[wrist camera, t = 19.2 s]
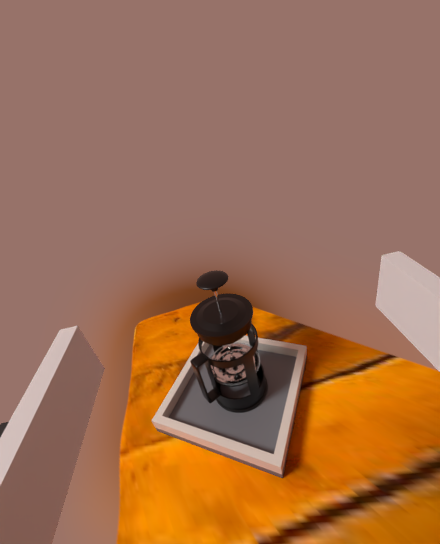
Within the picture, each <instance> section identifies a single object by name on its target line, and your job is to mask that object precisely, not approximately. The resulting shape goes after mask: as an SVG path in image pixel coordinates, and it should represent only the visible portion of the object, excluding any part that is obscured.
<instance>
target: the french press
mask: <svg viewBox="0 0 440 544" xmlns="http://www.w3.org/2000/svg"><path fill="white" fill-rule="evenodd" d="M227 280H228V275H227V274H226V273H225V272H223V271H211V272H207V273H205V274H203V275H202V276H200V277H199V278H198V280H197V286H198V287H199V288H201V289H203V290H212V291H213V292H214V293H215V296H212V297H210V298H208V299H206V300H204V301H202V302H201V303H200V304H199V305H197V306H196V307H195V309H194V310H193V312H192V314H191V317H190V323H191V326H192V328H193V330H194V331H195V332H196V333H197V334H198V336H199V342H198V344H199V349H200V352H201V353H200V354H198V355H197V356H196V357H194V358H193V359H192V360H191V361H190V362H191V365H192V367H193V370H194V373H195V375H196V378H197V380H198V383H199V386H200V388H201V391H202V393H203V396H204V397H205V399H206V400H207V401H208V402H209V403H212V402H214V401H215V400H216V401H217V402H218V404H219V405H220V406H221V407H222V408H224V409H225V410H227V411H230V412H234V413H244V412H248V411H250V410H253V409H255V408H256V407H257V406H259V405H260V404H261V402H262V401H263V400H264V398H265V396H266V393H267V389H268V384H267V379H266V376H265V374H264V369H263V366H262V364H261V363H260V357H259V354H258V349H257V348H258V336H257V331H256V329H255V327H254V326H253V324H251V318H252V315H253V308H252V305H251V303H250V302H249V301H248V300H247V299H246V298H245V297H242V296H240V295H236V294H220V295H217V290H218V288H219V287H221V286H223V285H224V284H225V283H226V282H227ZM254 333H255V334H254ZM246 334H248V339H249V344H250V345H248V344H245V343H238V342H236V341H238V340H240V339H241V338H243V337H244V336H245V335H246ZM255 335H256V339H255ZM203 341H204V342H205V343H208V344H210V345H212V346H213V350H214V353H213V355H212V356H211V358H209V357H207V356H206V355H205V354H204V353H203V352H202V344H203ZM234 342H236V343H234ZM222 345H224V346H222ZM204 363H205V366H206V369H207V372H208V375H209V377H210V380H211V384H212V387H213V389H212V390H211V391H209V392H208V393H207V390H206V387H205V385H204V382H203V379H202V376H201V374H200V371H199V367H200V366H201V365H202V364H204ZM257 377H258V379H259V381H260V385H259V384H258V379H257ZM246 383H248V386H249V390H250V395H248V396H246V397H242V398H228V397H225V396H223V395H222V393H221V385H224V386H229V387H235V386H241V385H244V384H246Z"/></svg>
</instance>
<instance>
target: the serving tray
mask: <svg viewBox="0 0 440 544" xmlns="http://www.w3.org/2000/svg"><path fill="white" fill-rule="evenodd" d="M255 339H256V337H255ZM236 342H238V343H245V344H248V345H250V344H249V339H248V336H244V337H243V338H241V339H240V340H238V341H236ZM236 342H234V343H236ZM222 346H224V345H222ZM257 349H258V354H259V357H260V363H261V364H262V366H263V369H264V374H265V376H266V379H267V384H268V389H267V393H266V396H265V398H264V400H263V401H262V402H261V404H260V405H259V406H257V407H256V408H255V409H253V410H250V411H248V412H244V413H234V412H230V411H227V410H225V409H224V408H222V407H221V406H220V405H219V404H218V402H217V401H216V400H215V401H214V402H212V403H209V402H208V401H207V400H206V399H205V397H204V396H203V393H202V391H201V388H200V386H199V383H198V380H197V378H196V375H195V373H194V370H193V367H192V365H191V362H190V361H191V360H192V359H193V358H194V357H196V356H197V355H198V354H200V353H201V352H200V349H199V344H197V346H196V348H195V349H194V351H193V353H192V354H191V356H190V358H189V359H188V361H187V363H186V364H185V366H184V368H183V369H182V371H181V373H180V374H179V376H178V378H177V379H176V381H175V383H174V384H173V386H172V388H171V389H170V391H169V393H168V394H167V396H166V398H165V399H164V401H163V403H162V404H161V406H160V408H159V409H158V411H157V413H156V414H155V416H154V418H153V419H152V422H153V424H154V426H155V427H156V429H157V431H159V432H162V433H164V434H167V435H170V436H172V437H175V438H178V439H180V440H183V441H186V442H188V443H191V444H193V445H196V446H199V447H201V448H204V449H207V450H209V451H212V452H215V453H217V454H220V455H223V456H225V457H228V458H230V459H233V460H236V461H238V462H241V463H244V464H246V465H249V466H252V467H254V468H257V469H260V470H262V471H265V472H268V473H270V474H273V475H275V476H278V477H281V478H283V474H284V469H285V464H286V459H287V454H288V449H289V444H290V439H291V434H292V429H293V424H294V419H295V414H296V409H297V404H298V399H299V394H300V389H301V384H302V379H303V374H304V369H305V364H306V359H307V347H306V346H304V345H298V344H292V343H286V342H280V341H274V340H268V339H262V338H258V348H257ZM202 352H203V353H204V354H205V355H206V356H207V357H209V358H211V356H212V355H213V353H214V350H213V346H212V345H210V344H208V343H205V342H204V341H203V344H202ZM199 371H200V374H201V376H202V379H203V382H204V385H205V387H206V390H207V393H208V392H209V391H211V390H212V389H213V387H212V384H211V380H210V377H209V375H208V372H207V369H206V366H205V363H204V364H202V365H201V366H200V367H199ZM257 379H258V377H257ZM258 384H259V385H260V381H259V379H258ZM221 393H222V395H223V396H225V397H228V398H242V397H246V396H248V395H250V390H249V386H248V383H246V384H244V385H241V386H235V387H229V386H224V385H221Z"/></svg>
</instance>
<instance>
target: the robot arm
mask: <svg viewBox="0 0 440 544" xmlns="http://www.w3.org/2000/svg"><path fill="white" fill-rule="evenodd" d="M376 307H377V308H378V309H379V310H380V311H381V312H382V313H383V314H384V315H385V316H386V317H387V318H388V319H389V320H390V321H391V322H392V323H393V324H394V325H395V326H396V327H397V328H398V329H399V330H400V332H401V333H402V334H403V335H405V337H406V338H407V339H408V340H409V341H410V342H411V343H412V344H413V345H414V346H415V347H416V348H417V349H418V350H419V351H420V352H421V353H422V354H423V355H424V356H425V357H426V358H427V359H428V360H429V361H430V362H431V363H432V364H433V365H434V367H436V369H437V370H438V371H439V372H440V278H439V277H438V276H436V275H435V274H433V273H432V272H430V271H429V270H427V269H426V268H424V267H423V266H421V265H420V264H418V263H416V262H415V261H414V260H412V259H411V258H409V257H408V256H406V255H405V254H403V253H402V252H400V251H399V252H394V253H389V254H385V255H382V258H381V266H380V274H379V282H378V290H377V298H376ZM104 369H105V368H104V367H103V365H102V364H101V362H100V360H99V359H98V357H97V356H96V354H95V353H94V351H93V349H92V348H91V346H90V345H89V343H88V341H87V340H86V338H85V337H84V335H83V333H82V332H81V330H80V329H79V327H78V326H74V327H70V328H66V329H61V330H60V331H59V332H58V334H57V336H56V338H55V340H54V342H53V343H52V345H51V347H50V349H49V351H48V352H47V354H46V356H45V358H44V360H43V361H42V363H41V365H40V367H39V369H38V370H37V372H36V374H35V376H34V378H33V379H32V381H31V383H30V385H29V387H28V389H27V390H26V392H25V394H24V396H23V398H22V399H21V401H20V403H19V405H18V407H17V408H16V410H15V412H14V414H13V416H12V417H11V419H10V421H9V422H6V423H2V424H1V425H0V544H52V541H53V538H54V535H55V531H56V528H57V525H58V521H59V518H60V514H61V511H62V508H63V505H64V501H65V498H66V495H67V491H68V488H69V485H70V481H71V478H72V475H73V471H74V468H75V465H76V462H77V458H78V455H79V451H80V448H81V445H82V441H83V438H84V435H85V431H86V428H87V425H88V422H89V418H90V415H91V412H92V408H93V405H94V401H95V398H96V395H97V392H98V388H99V385H100V382H101V378H102V375H103V372H104Z"/></svg>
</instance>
